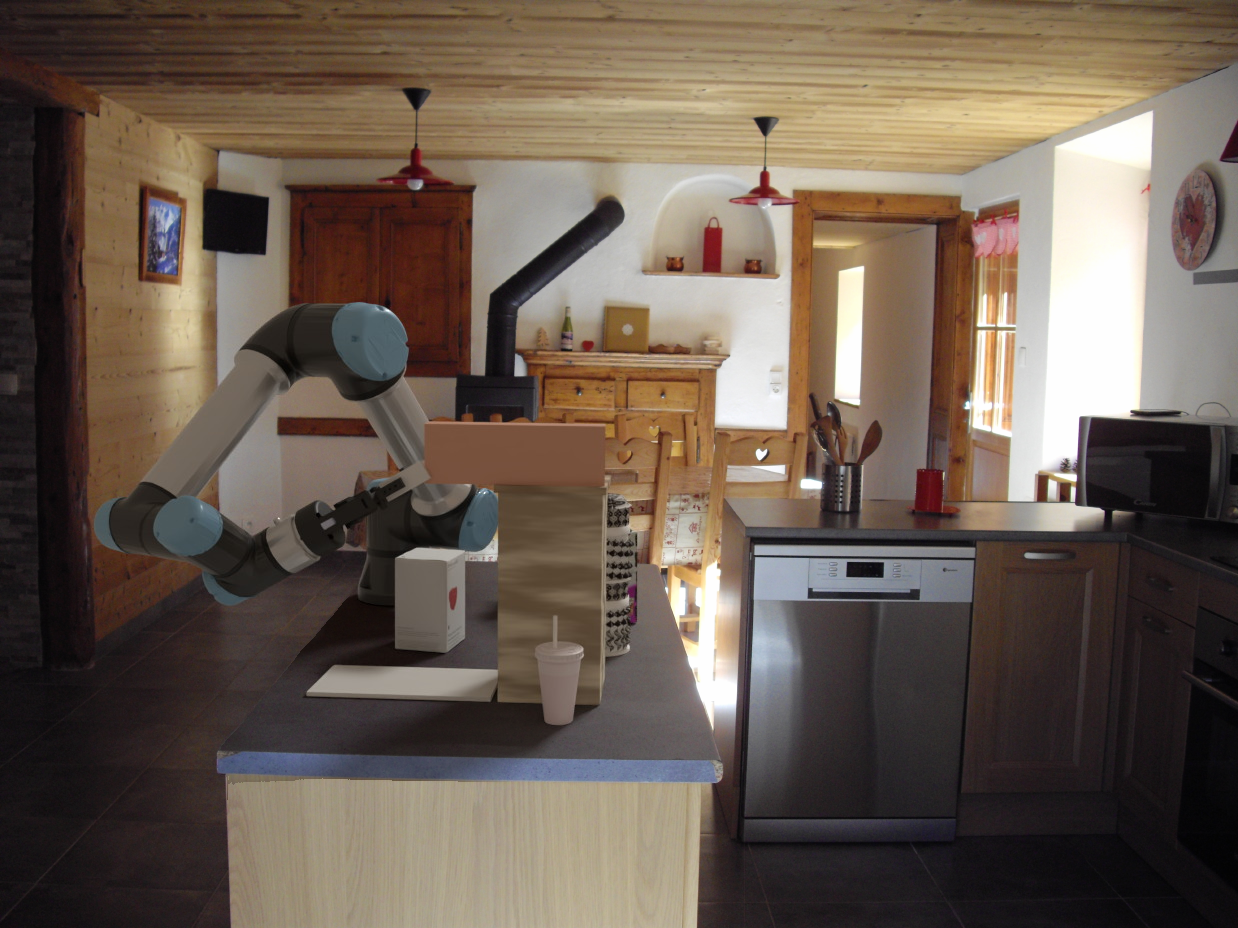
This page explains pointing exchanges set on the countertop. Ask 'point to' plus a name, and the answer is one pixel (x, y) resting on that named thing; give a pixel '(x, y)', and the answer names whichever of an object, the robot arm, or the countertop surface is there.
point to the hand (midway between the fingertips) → (437, 463)
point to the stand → (551, 583)
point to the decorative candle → (617, 576)
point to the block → (515, 453)
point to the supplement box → (429, 599)
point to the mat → (407, 683)
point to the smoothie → (558, 677)
